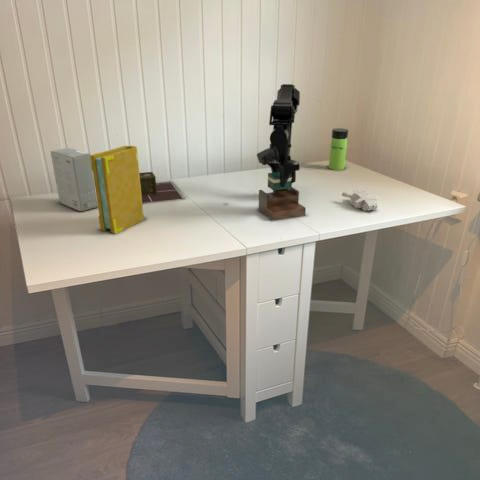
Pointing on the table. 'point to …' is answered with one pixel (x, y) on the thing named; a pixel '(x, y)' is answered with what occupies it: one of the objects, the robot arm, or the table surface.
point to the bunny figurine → (361, 200)
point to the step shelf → (281, 204)
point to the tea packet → (277, 181)
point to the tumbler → (338, 149)
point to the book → (117, 188)
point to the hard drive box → (74, 178)
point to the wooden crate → (156, 189)
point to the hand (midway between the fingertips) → (279, 184)
